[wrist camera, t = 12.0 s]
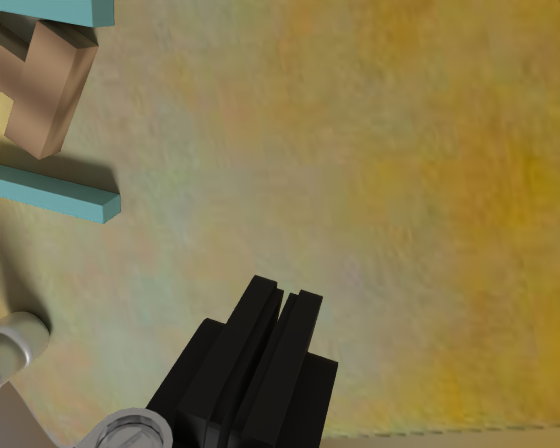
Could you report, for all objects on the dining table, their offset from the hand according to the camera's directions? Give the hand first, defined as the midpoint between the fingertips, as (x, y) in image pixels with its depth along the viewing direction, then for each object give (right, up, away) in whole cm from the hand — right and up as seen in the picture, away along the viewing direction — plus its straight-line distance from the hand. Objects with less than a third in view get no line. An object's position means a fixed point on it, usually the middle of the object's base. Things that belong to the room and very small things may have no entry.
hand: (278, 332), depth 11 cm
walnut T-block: (-24, +18, +33) cm, 44 cm away
